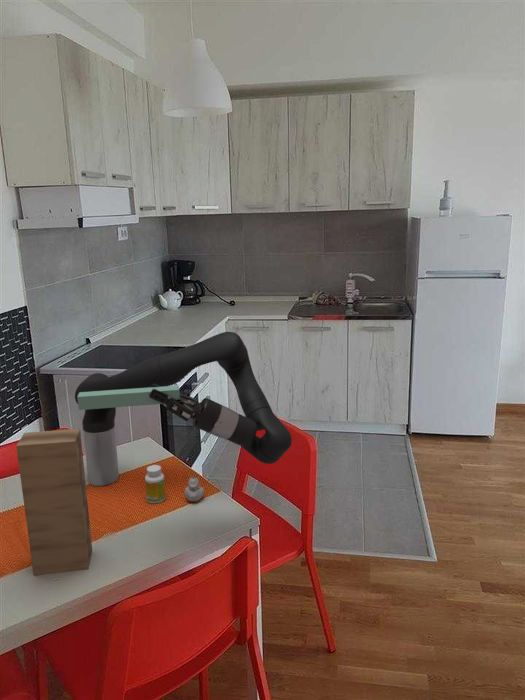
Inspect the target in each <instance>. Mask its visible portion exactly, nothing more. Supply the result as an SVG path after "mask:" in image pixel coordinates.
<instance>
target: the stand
mask: <svg viewBox="0 0 525 700" xmlns="http://www.w3.org/2000/svg"><path fill="white" fill-rule="evenodd" d="M16 453H17V461H18V469H19V475H20V478H19V479H20V484H21V491H22V492H21V493H22V500H23V507H24V514H25V523H26V528H27V535H28V542H29V550H30V551H29V552H30V556H31V564H32V565H31V566H32V574H33V576H40V575H49V574H58V573H65V572H66V573H67V572H73V571H75V572H76V571H81V570H89V568H90V564H91V560H92V559H91V558H92V554H93V545H92V544H93V543H92V535H91V532H92V531H91V525H90V514H89V512H90V511H89V504H88V494H87V484H86V474H85V472H86V471H85V466H84V465H85V463H84V454H83V444H82V433H81V428H71V429H59V430H58V429H56V430H46V431H42V430H41V431H30V432H23V435H22V436H21V438H20V439H19V441H18V442H17V444H16Z"/></svg>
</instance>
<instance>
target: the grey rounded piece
mask: <svg viewBox="0 0 525 700" xmlns="http://www.w3.org/2000/svg"><path fill="white" fill-rule="evenodd" d="M187 483H188V484H187V485H188V486H186V487H185V489H184V496H185V498H186V499H187V501H190V502H198V501H200V500H201V499H202V498H203V496H204V493H205V489H204V487H202V486H200V480H199V478H198V477H196V476H194V475H192V476H191V477H189V479H188V482H187Z"/></svg>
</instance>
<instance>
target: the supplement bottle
mask: <svg viewBox="0 0 525 700" xmlns="http://www.w3.org/2000/svg"><path fill="white" fill-rule="evenodd" d="M144 484H145V499H146V501H147V502H148V503H151V504H159V503H161V502H164V500H165V499H166V487H165V485H166V483H165V474H164V473H163V472H162V467H161V465H157V464H153V465H149V466H147V467H146V474H145V477H144Z"/></svg>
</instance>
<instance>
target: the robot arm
mask: <svg viewBox="0 0 525 700" xmlns="http://www.w3.org/2000/svg"><path fill="white" fill-rule="evenodd" d="M215 362H217V363H218V365H219V366H220V367H221V368H222V369H223V370H224V372H225V373H226V374H227V376H228V377H229V379H230V380H231V382H232V384H233V385H234V387H235V390H236V393H237V397H238V401H239V404H240V406H241V407H240V408H241V409H242V411H243V414H244V415H242V414H240V413H238V412H236V411H235V410H233V409H231V408H229V407H227V406H225V405H223V404H221V403H218V402H217V401H214V400H212V399H210V398H208V397H204V398H203V399H202V400H201V402H198V401H196V399H195V397H192V396H191V393H190V392H186V391H183V390H180V389H179V395H180V397H178V398H175V397H172V396H169V395H168V397H167V394H165V393H163V392H160V391H158V390H156V389H152V391H151V393H150V396H149V397H150V398H152V399H154V400H156V401H158V402H161V403H164V404H162V405H163V406H164V407H165V409H166V410H167V411H169V412H171V413H172V414H174V415H175V416H176V417H179V418H180V419H182V420H184V421H185V422H188V421H189V420H190V419H192V420H191V423H192V426H193V427H195V428H196V429H199V430H201V431H203V432H205V433H208V434H210V435H213V436H215V437H217V438H220V439H224V440H226V441H229V442H231V443H233V444H235V445H238V446H240V447H241V448H242V449H244V451H246V452H247V453H248V454H250V455H251V456H253V458H255V459H256V460H257V461H258V462H260V463H263V464H266V465H273V464H275V463H277V462H278V461H279V460H280V459H281V458H282V457H283V455H285V454H286V453H287V451H288V450H289V449H290V448H291V446H292V444H293V438H292V434H291V431H290V430H289V429H288V427H286V425H285V424H284V423H283V422H282V421H281V420H280V419H279V418H278V416H277V415H276V414H275V413H274V412H273V409H272V407H271V405H270V403H269V401H268V399H267V397H266V395H265V394H264V391H263V390H262V388H261V386H260V385H259V383H258V380H257V379H256V376H255V374H254V371H253V368H252V365H251V361H250V357H249V353H248V349H247V347H246V345H245V343H244V341H243V340H242V338H241V336H240V335H239V334H238V333H236V332H234V331H233V332H232V331H224V332H220V333H217V334H215V335H213V336H211V337H208V338H205V339H204V340H201V341H198V342H197V343H194V344H191V345H189V346H185V347H182V348H180V349H176V350H174V351H170V352H168V353H163V354H159V355H156V356H153V357H150V358H148V359H145V360H143V361H140V362H139V363H137V364H135V365H132V366H130V367H129V368H127V369H125V370H122V371H121V372H119V373H117V374H113V375H111V376H108V375H107V374H104V373H100V372H98V373H97V372H96V373H93V374H91V375H89V376H87V377H86V378H84V380H83V381H81V382H80V383H79V385H78V386H77V387H76V390H75V392H74V400H75V402H76V404H77V405H78V399H77V396H78V394H79V392H92V391H106V390H121V389H135V388H150V387H164V386H174V385H175V384H176V385H177V384H178V383H179V382H180V381H183V379H184V378H185V377H187V375H189V374H190V373H191V372H192V371H194V370H195V369H196V368H198V367H201V366H203V365H207V364H209V363H215ZM116 408H117V407H114V408H100V409H87V410H84V414H83V418H82V420H81V421H82V422H81V424H82V433H83V434H82V435H83V443H84V453H85V462H86V472H87V474H86V475H87V482H88V483H89V485H92V486H94V487H95V486H97V487H98V486H99V487H102V486H108V485H112V484H113V483H115V482H116V481H118V480H119V478H120V471H119V459H118V449H117V439H116V438H117V437H116V426H115V424H116V423H115V419H116V413H117V409H116ZM263 430H264V432H265V433H264V434H263V435H262V436H261V437H259V436H257V432H258V431H259V432H260V431H263Z"/></svg>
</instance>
